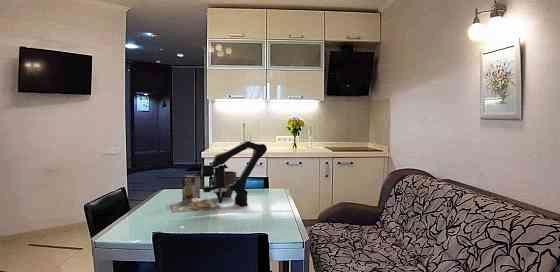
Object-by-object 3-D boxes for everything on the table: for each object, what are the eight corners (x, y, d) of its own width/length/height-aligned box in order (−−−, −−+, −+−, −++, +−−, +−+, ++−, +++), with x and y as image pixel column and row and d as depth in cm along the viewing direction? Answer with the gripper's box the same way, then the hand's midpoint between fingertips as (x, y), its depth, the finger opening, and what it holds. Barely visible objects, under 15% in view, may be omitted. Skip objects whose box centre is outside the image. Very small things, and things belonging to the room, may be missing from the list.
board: (214, 203, 234) (214, 201, 234) (220, 210, 215) (220, 208, 215) (169, 206, 226) (169, 205, 226) (171, 214, 207) (171, 212, 207)
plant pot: (241, 196, 253) (241, 172, 252) (226, 200, 241) (226, 175, 240) (224, 194, 261) (223, 170, 260) (208, 198, 249) (208, 173, 248)
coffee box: (182, 202, 236) (181, 176, 235) (188, 200, 242) (187, 174, 241) (194, 203, 233) (194, 177, 232) (200, 201, 239) (200, 175, 238)
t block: (209, 203, 228) (209, 197, 228) (211, 207, 218) (211, 200, 218) (191, 205, 225) (191, 198, 224) (193, 208, 215) (193, 201, 215)
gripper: (232, 173, 235) (233, 199, 235) (201, 175, 229) (202, 201, 229) (236, 176, 224) (237, 202, 225) (204, 177, 218) (204, 205, 219)
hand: (220, 203), depth 225 cm, fingers closed
